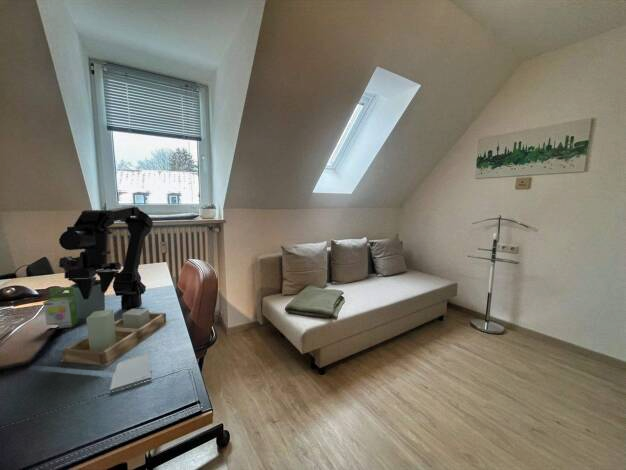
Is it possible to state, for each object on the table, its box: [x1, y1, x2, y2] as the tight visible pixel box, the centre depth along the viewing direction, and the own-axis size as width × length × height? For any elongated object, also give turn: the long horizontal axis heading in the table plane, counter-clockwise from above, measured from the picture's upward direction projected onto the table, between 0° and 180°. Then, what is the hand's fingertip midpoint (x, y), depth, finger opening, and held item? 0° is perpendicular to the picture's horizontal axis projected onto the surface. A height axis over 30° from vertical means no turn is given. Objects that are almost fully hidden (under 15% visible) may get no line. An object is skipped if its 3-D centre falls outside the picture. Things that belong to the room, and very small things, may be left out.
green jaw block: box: [85, 309, 116, 352], centre depth 71 cm, size 4×4×11 cm
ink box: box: [42, 286, 79, 329], centre depth 86 cm, size 7×4×13 cm, turn 105°
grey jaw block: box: [122, 308, 150, 329], centre depth 83 cm, size 4×6×6 cm, turn 84°
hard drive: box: [108, 352, 153, 393], centre depth 64 cm, size 2×8×12 cm
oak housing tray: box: [59, 311, 169, 366], centre depth 78 cm, size 24×14×4 cm, turn 174°
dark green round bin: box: [69, 279, 106, 319], centre depth 96 cm, size 10×10×12 cm
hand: (95, 295), depth 82 cm, fingers open, 9 cm apart
